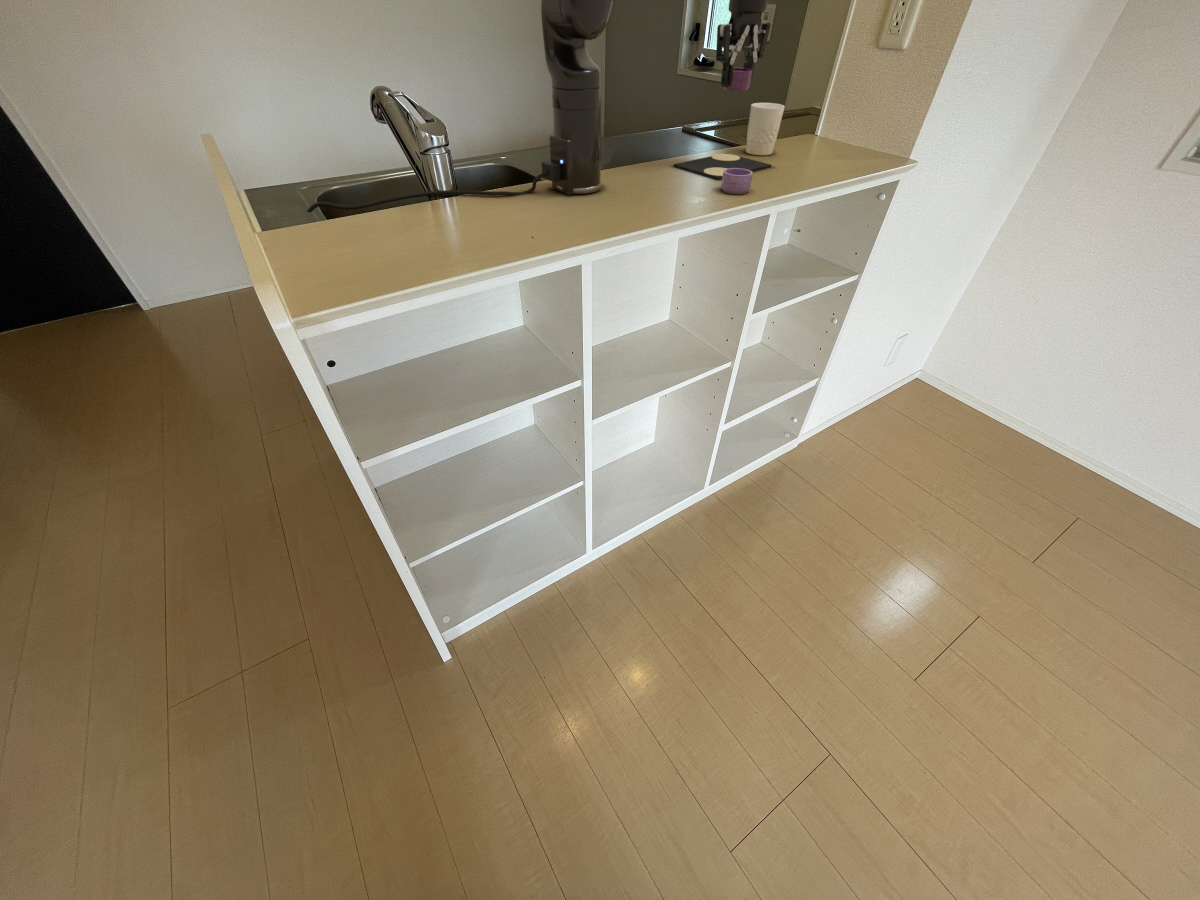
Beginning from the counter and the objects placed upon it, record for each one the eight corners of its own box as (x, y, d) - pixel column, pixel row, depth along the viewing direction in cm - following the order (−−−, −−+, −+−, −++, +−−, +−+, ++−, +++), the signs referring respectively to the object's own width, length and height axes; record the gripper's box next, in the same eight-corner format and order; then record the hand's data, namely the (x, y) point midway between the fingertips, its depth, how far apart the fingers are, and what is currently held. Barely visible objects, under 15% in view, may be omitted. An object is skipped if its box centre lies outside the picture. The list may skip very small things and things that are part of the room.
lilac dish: (736, 196, 101) (739, 177, 99) (714, 189, 104) (717, 170, 102) (755, 191, 103) (759, 172, 101) (733, 184, 107) (736, 166, 105)
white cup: (778, 156, 125) (788, 108, 118) (746, 156, 125) (754, 108, 119) (770, 149, 131) (780, 102, 124) (740, 148, 131) (748, 102, 124)
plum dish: (737, 92, 108) (740, 71, 105) (716, 88, 111) (719, 69, 109) (754, 89, 110) (758, 69, 108) (734, 86, 114) (737, 67, 111)
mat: (719, 180, 109) (719, 177, 109) (672, 166, 118) (672, 163, 118) (772, 167, 118) (772, 164, 117) (724, 155, 126) (725, 152, 126)
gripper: (760, -20, 104) (744, 80, 116) (711, -20, 98) (700, 86, 109) (790, -20, 100) (770, 84, 111) (741, -20, 94) (726, 90, 105)
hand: (735, 84), depth 110 cm, fingers closed on plum dish, 6 cm apart
